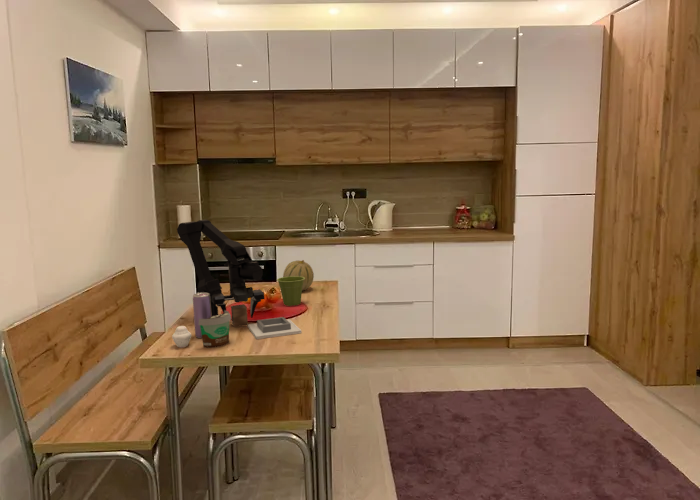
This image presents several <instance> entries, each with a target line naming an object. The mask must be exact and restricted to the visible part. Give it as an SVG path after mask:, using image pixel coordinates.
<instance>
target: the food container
mask: <svg viewBox="0 0 700 500" xmlns="http://www.w3.org/2000/svg"><path fill="white" fill-rule="evenodd" d="M230 321H232V314H231V312H229V311H228V310H226V311H225V310H224V313H223V312H222V313H221V314H218V315H214V316H211V317H209V318H207V319H200V318H199V324H198V325H200V328H201V334H202V338H201V339H202V344H203V345H202V347H203V348H207V349H212V348H213V349H214V348H220V347H225V346H226V345H228V344H229V343H230V342H229V341H230Z"/></svg>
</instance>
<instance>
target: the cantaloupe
mask: <svg viewBox="0 0 700 500" xmlns="http://www.w3.org/2000/svg"><path fill="white" fill-rule="evenodd" d="M314 275H315V274H314V270H313V268H312V266H311V264H310V263H308V262H306V261H305V260H304V259H302V260H294V261H291V262H289V263H288V264H287V265H286V266H285V267H284V270H283V274H282V277H290V276H299V277H304V278H305V279H304V281H303V286H302V292H304V291H306V290H307V289H309V288H310V287H311V286H312V284H313V282H314V277H315V276H314Z"/></svg>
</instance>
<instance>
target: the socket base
mask: <svg viewBox="0 0 700 500" xmlns="http://www.w3.org/2000/svg"><path fill="white" fill-rule="evenodd" d="M247 329H248V330H249V332H250V333H251V334H252V336H253V337H254V339H255V340H261V339H269V338H275V337H284V336H285V337H286V336H291V335H297V334H302V332H303V331H302V329H301V328H299V326H297V325H296V323H294V322H293V321H292V320H291V318H288V319H286V318H285V317H284V316H282V317H281V316H280V317H279V316H278V317H274V318H266V319H265V318H264V319H258V320H256V323H249V324H248V325H247Z"/></svg>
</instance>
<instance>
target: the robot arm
mask: <svg viewBox="0 0 700 500" xmlns="http://www.w3.org/2000/svg"><path fill="white" fill-rule="evenodd" d="M176 230H177V231H176V233H177V234H178V237H179V238H180V241H181V242H182V243H184V245H186V247H187V249H188V252H189V256H190V257H191V261H192V264H193V266H194V269H195V273H196V275H197V278H198V284H197V293H209V294H210V297H211V312H212V316H214V315H219V307H220V308H221V310H222V314H223V313H224V310H225V311H227V304H226V301H234V302H235V303H242V302H248V301H249V299H250V318H251V319H253V317H254V314H255V311H256V307H257V305H258V304H259V302H260V303H261V302H262V300H265V292H263V291H262V289H254V288H253V287H252V286H246V280H247V281H253V282H254V281H256V282H257V281H258V282H259V281H260V280H261V279H262V278H263V275H264V274H263V273H264V270H263V268H262V266H261V265H259V261H253V259H252V257H251V255H250V253H248V251H247V248H246V246H245V245H244V244H242V243H241V242H239V241H236V240H233V239H231V238H229V237H228V236H227V235H226V234H225V233H223V232H222V231H221V230H220V229H218V228H217V227H216V225H214V224H213V223H212V222H211V221H210V219H201V220H198V221H188V222H180V223H179V224H178V225H177V228H176ZM202 234H203V235H205V236H206V237H207V238H208V239H209V240H210V241H211V242H212V243H214V244H215V246H217V247H218V248H219V249H220V251H221V254H222V256H223V257H224V258H225V259H226V262H225V263H224V264H223V266H224V267H228V276H229V277H228V279H229V293H230V294H228V295H224V294H223V291H222V289H223V287H222V286H221V284H220V280H219V279H218V278H216V279H215V278H214V277H213V276H212V273H211V270H210V268H209V265H208V262H207V259H206V256H205V253H204V250H203V247H202V244H201V239H202Z"/></svg>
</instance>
